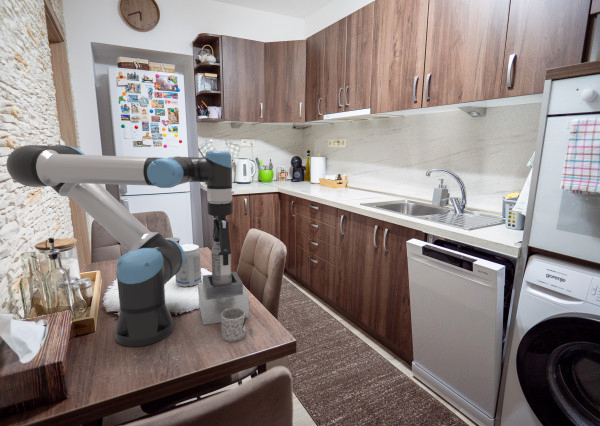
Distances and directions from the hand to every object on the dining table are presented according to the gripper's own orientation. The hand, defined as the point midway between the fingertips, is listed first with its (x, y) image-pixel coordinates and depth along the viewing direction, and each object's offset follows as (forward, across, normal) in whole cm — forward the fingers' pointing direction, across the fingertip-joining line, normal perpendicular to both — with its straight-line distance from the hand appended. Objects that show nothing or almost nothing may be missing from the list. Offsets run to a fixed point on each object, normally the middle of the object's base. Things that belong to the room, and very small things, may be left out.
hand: (221, 267), depth 105 cm
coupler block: (+15, 0, 0) cm, 15 cm away
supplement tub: (+15, +28, +9) cm, 33 cm away
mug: (+15, -14, 0) cm, 21 cm away
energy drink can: (+7, 0, 0) cm, 7 cm away
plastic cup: (+15, +53, +16) cm, 57 cm away
